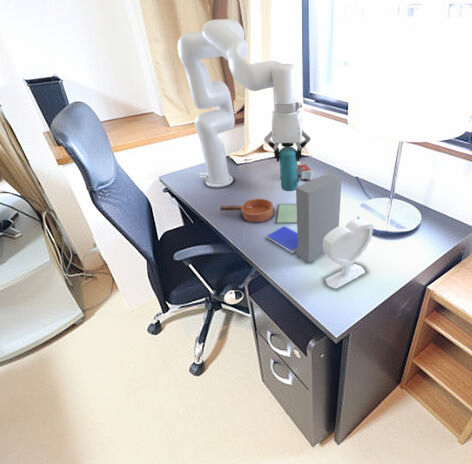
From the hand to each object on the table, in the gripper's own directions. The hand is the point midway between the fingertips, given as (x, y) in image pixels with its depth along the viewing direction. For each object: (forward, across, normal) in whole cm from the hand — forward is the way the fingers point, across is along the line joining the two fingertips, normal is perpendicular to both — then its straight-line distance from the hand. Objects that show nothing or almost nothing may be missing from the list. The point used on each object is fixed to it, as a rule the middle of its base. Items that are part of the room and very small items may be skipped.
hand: (288, 159), depth 113 cm
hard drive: (+23, 0, +18) cm, 29 cm away
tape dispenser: (+23, -3, -35) cm, 42 cm away
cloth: (+22, 0, 0) cm, 22 cm away
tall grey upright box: (+23, -10, +23) cm, 34 cm away
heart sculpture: (+23, -18, +36) cm, 46 cm away
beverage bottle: (+13, 0, 0) cm, 13 cm away
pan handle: (+20, +23, 0) cm, 31 cm away
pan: (+22, +13, 0) cm, 26 cm away
